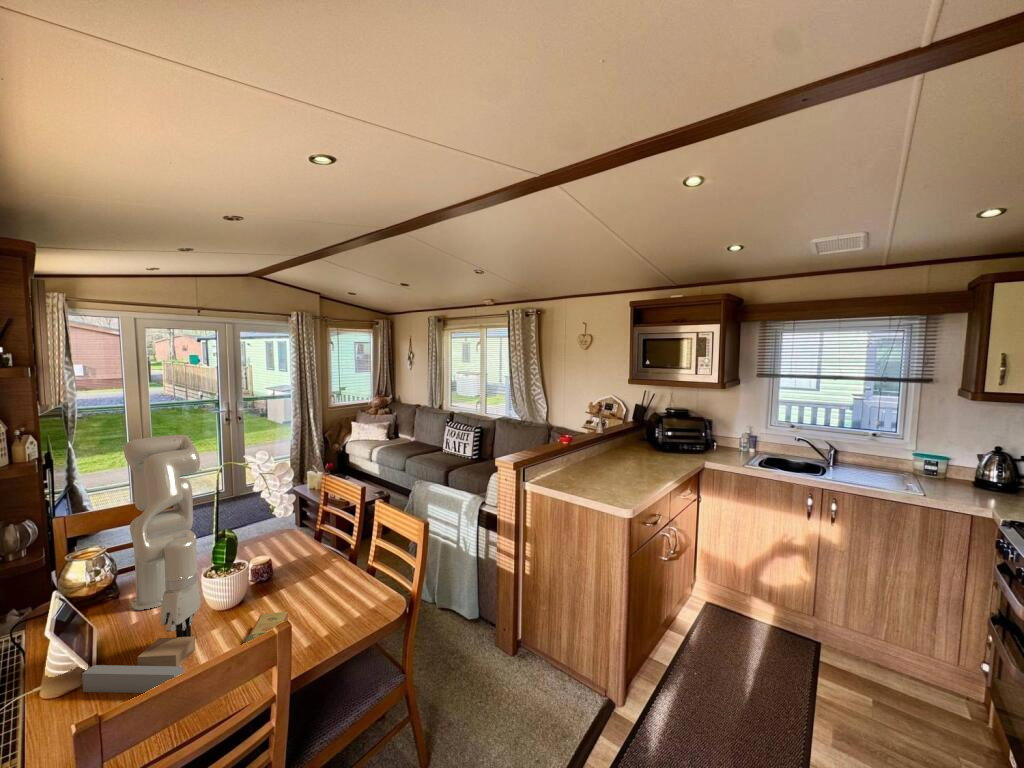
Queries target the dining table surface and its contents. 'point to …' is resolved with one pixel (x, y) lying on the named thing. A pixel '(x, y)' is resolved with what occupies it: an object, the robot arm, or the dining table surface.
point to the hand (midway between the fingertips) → (183, 640)
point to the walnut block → (167, 652)
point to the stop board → (127, 678)
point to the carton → (267, 623)
